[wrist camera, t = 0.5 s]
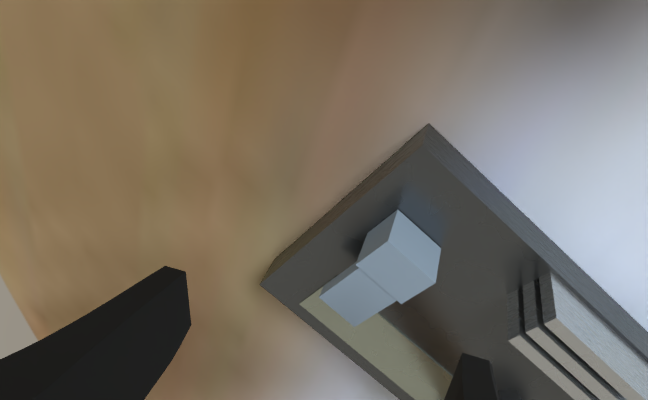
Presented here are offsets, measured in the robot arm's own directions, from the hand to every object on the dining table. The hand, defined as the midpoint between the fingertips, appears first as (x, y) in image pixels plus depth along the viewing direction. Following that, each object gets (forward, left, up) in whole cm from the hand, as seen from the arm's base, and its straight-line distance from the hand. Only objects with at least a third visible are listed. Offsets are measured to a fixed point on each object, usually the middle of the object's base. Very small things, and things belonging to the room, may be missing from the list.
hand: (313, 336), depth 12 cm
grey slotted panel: (-7, +3, -10) cm, 13 cm away
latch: (-3, +2, -8) cm, 9 cm away
